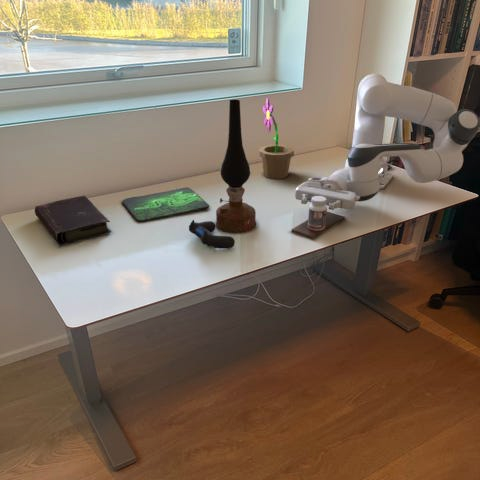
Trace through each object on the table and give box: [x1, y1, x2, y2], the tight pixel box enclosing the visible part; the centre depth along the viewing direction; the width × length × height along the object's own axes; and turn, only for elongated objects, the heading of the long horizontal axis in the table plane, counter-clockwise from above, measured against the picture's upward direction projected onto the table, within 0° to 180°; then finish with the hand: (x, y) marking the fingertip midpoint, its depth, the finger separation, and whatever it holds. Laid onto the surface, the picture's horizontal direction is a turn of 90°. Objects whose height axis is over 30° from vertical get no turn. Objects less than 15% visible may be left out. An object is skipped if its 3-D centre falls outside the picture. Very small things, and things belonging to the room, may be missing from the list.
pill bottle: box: [307, 196, 328, 231], centre depth 163 cm, size 6×6×10 cm
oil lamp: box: [215, 99, 257, 234], centre depth 161 cm, size 14×15×40 cm
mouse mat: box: [121, 187, 210, 223], centre depth 184 cm, size 27×22×1 cm
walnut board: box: [291, 211, 346, 240], centre depth 169 cm, size 20×8×1 cm, turn 141°
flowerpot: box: [258, 97, 295, 180], centre depth 202 cm, size 14×14×30 cm
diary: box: [34, 195, 112, 247], centre depth 168 cm, size 19×25×5 cm
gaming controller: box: [188, 219, 236, 250], centre depth 158 cm, size 17×6×10 cm
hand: (316, 204), depth 162 cm, fingers open, 8 cm apart
